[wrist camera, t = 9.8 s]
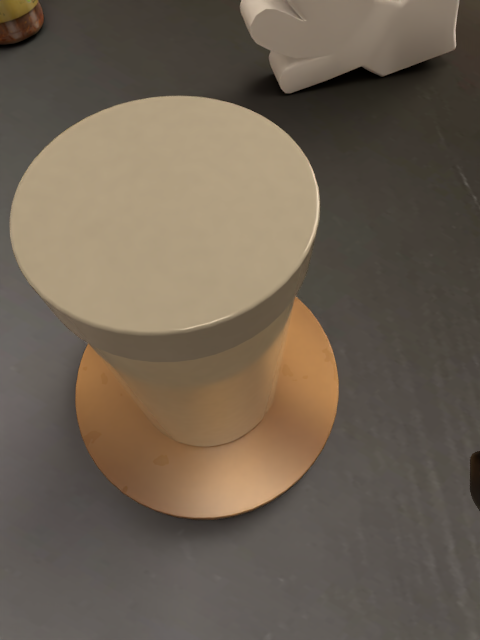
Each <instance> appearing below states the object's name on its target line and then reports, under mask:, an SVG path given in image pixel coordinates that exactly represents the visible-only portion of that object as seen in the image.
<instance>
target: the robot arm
mask: <svg viewBox="0 0 480 640" xmlns="http://www.w3.org/2000/svg"><path fill="white" fill-rule="evenodd" d="M470 492H471V496H472V499H473V501H474V503H475V504H476V506H477V508H478V509H479V511H480V451H478V452H475V453H473V454H472V456H471V459H470Z"/></svg>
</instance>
